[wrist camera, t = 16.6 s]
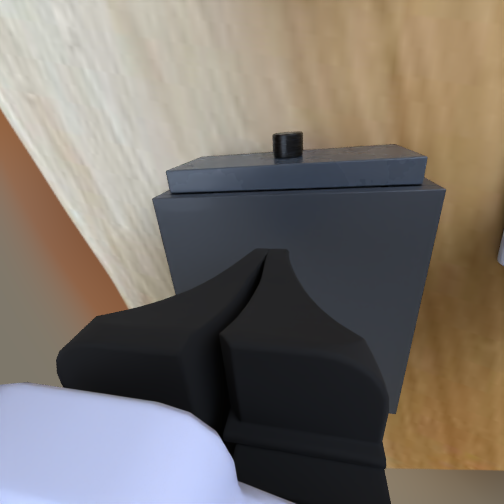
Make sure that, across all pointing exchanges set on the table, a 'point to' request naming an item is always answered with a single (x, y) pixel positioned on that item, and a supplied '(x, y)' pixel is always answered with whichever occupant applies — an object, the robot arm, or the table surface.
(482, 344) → the table surface
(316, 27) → the table surface
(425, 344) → the table surface
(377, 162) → the drawer
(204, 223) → the dark grey cabinet
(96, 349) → the robot arm
